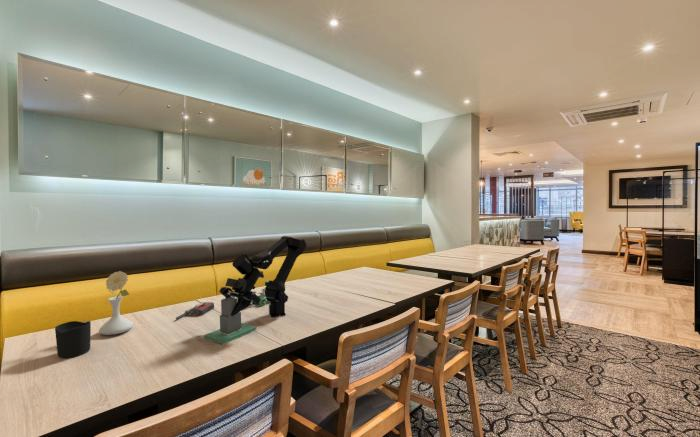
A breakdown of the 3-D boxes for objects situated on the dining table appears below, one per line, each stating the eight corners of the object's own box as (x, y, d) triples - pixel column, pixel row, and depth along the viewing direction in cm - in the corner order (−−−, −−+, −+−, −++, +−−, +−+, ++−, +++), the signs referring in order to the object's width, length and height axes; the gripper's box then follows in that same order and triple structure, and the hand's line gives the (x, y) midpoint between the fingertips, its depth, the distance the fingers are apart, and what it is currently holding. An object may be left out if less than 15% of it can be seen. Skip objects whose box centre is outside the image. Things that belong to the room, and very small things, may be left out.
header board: (237, 324, 140) (237, 313, 140) (255, 329, 135) (255, 318, 135) (204, 338, 127) (203, 326, 126) (223, 344, 121) (222, 331, 121)
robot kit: (290, 296, 183) (290, 279, 183) (257, 309, 162) (257, 290, 161) (265, 292, 193) (265, 276, 192) (231, 303, 171) (230, 285, 171)
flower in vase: (92, 335, 130) (89, 272, 129) (121, 325, 140) (119, 266, 139) (114, 340, 125) (111, 274, 124) (142, 329, 136) (140, 269, 134)
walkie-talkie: (199, 307, 165) (174, 321, 145) (199, 298, 165) (173, 311, 145) (216, 307, 164) (192, 322, 144) (216, 299, 164) (192, 312, 144)
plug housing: (233, 326, 135) (233, 296, 134) (241, 328, 132) (240, 297, 132) (220, 331, 129) (219, 300, 128) (227, 334, 127) (226, 302, 126)
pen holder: (87, 344, 121) (86, 317, 121) (94, 352, 115) (93, 324, 115) (53, 353, 114) (52, 325, 113) (59, 362, 108) (58, 332, 107)
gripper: (222, 267, 138) (199, 300, 129) (254, 272, 128) (231, 308, 119) (237, 282, 145) (216, 314, 136) (269, 287, 135) (248, 322, 126)
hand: (227, 314), depth 129 cm, fingers closed on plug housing, 4 cm apart
